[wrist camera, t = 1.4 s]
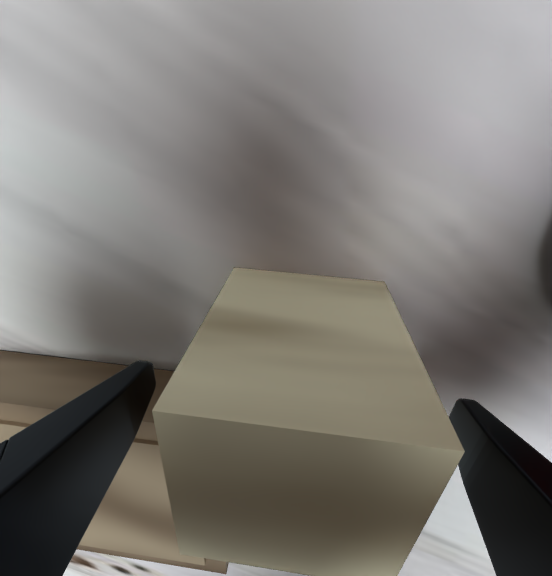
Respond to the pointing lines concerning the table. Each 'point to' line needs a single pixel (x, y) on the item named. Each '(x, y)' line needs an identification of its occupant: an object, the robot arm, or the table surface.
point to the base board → (130, 476)
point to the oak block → (303, 429)
